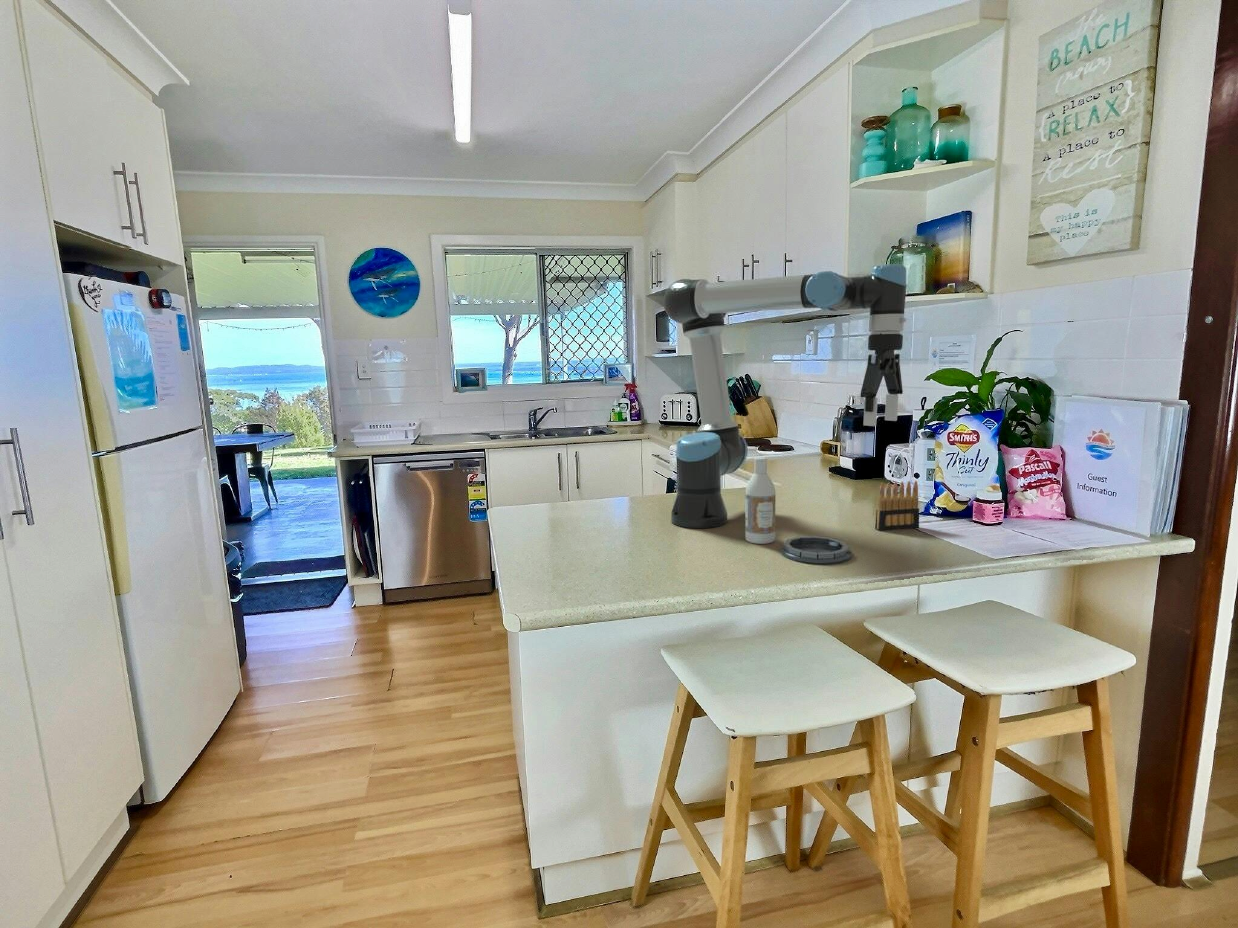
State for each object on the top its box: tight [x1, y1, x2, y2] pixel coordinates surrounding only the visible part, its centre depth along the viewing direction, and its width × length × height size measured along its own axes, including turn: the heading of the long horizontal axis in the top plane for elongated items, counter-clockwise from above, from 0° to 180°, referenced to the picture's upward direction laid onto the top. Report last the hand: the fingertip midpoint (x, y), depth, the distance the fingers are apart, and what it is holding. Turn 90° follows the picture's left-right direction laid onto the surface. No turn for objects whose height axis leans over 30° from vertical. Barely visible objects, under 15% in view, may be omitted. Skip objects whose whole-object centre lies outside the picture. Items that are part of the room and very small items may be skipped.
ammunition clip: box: [874, 480, 920, 532], centre depth 154 cm, size 11×2×12 cm, turn 97°
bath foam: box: [744, 456, 777, 545], centre depth 147 cm, size 7×7×20 cm
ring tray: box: [780, 535, 853, 565], centre depth 138 cm, size 15×15×2 cm
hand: (880, 423), depth 150 cm, fingers open, 13 cm apart
